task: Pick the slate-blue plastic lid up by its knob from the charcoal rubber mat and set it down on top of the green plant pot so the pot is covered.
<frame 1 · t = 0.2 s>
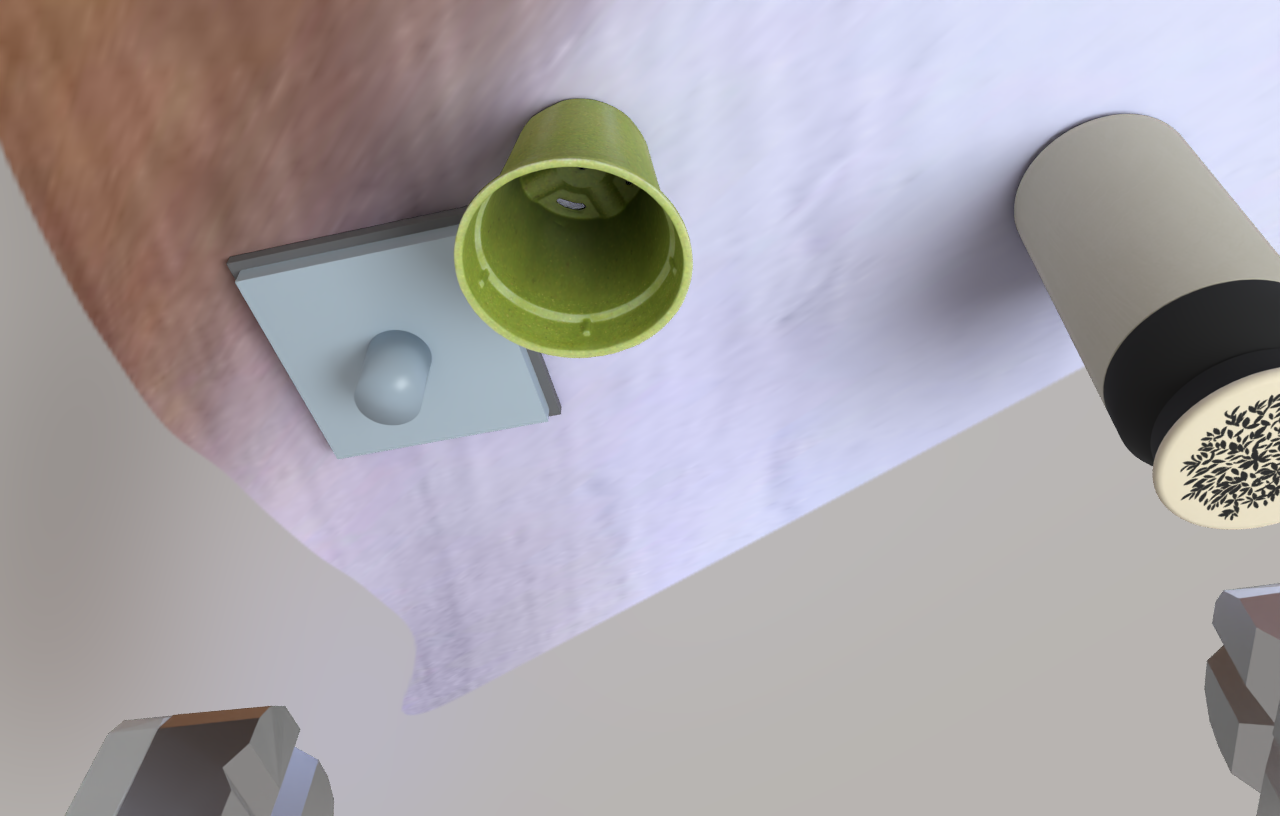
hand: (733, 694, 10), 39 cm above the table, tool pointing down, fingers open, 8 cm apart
plant pot: (582, 158, 49), on the table
lid: (403, 343, 55), point 1 cm above the table, touching mat
travel mug: (1098, 188, 50), on the table
mat: (405, 336, 56), on the table
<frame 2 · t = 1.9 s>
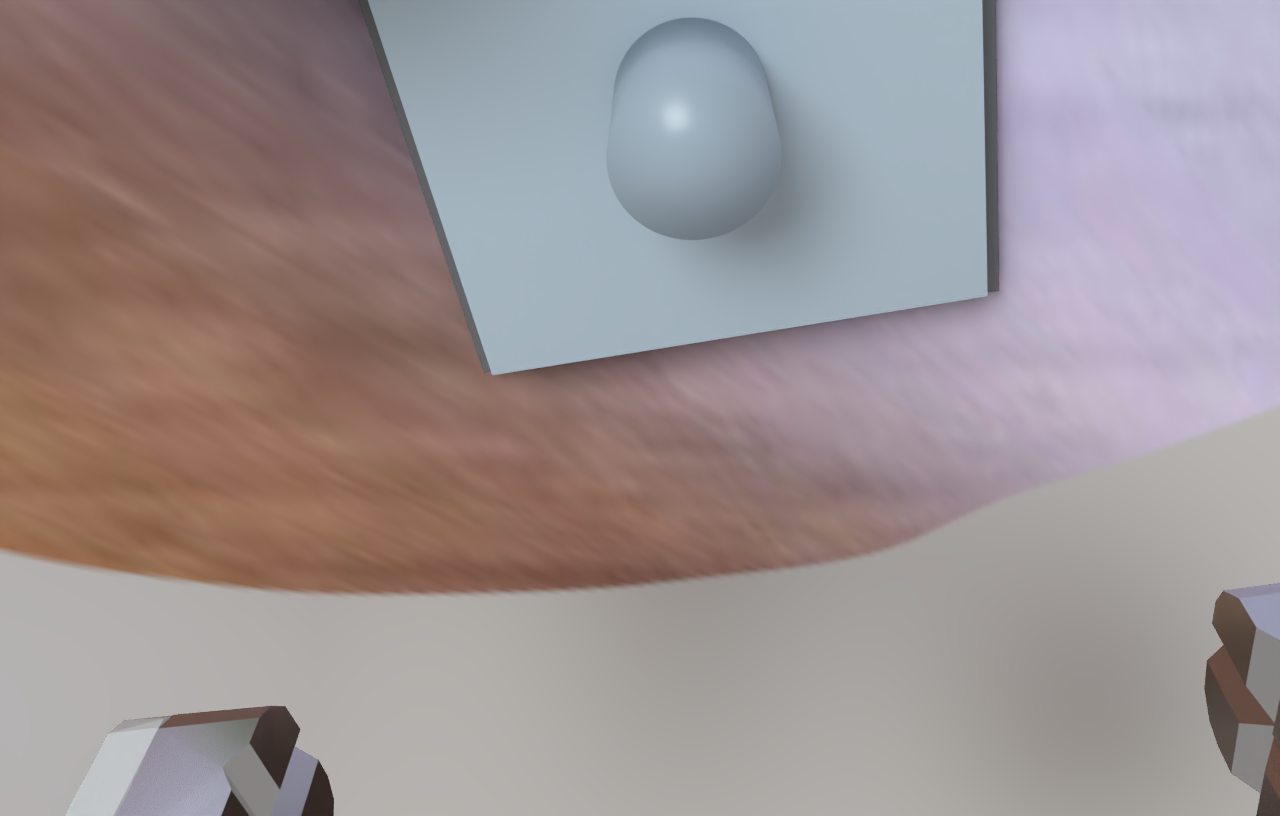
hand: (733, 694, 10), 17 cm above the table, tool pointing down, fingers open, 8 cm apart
lid: (689, 80, 23), point 1 cm above the table, touching mat
mat: (688, 71, 24), on the table
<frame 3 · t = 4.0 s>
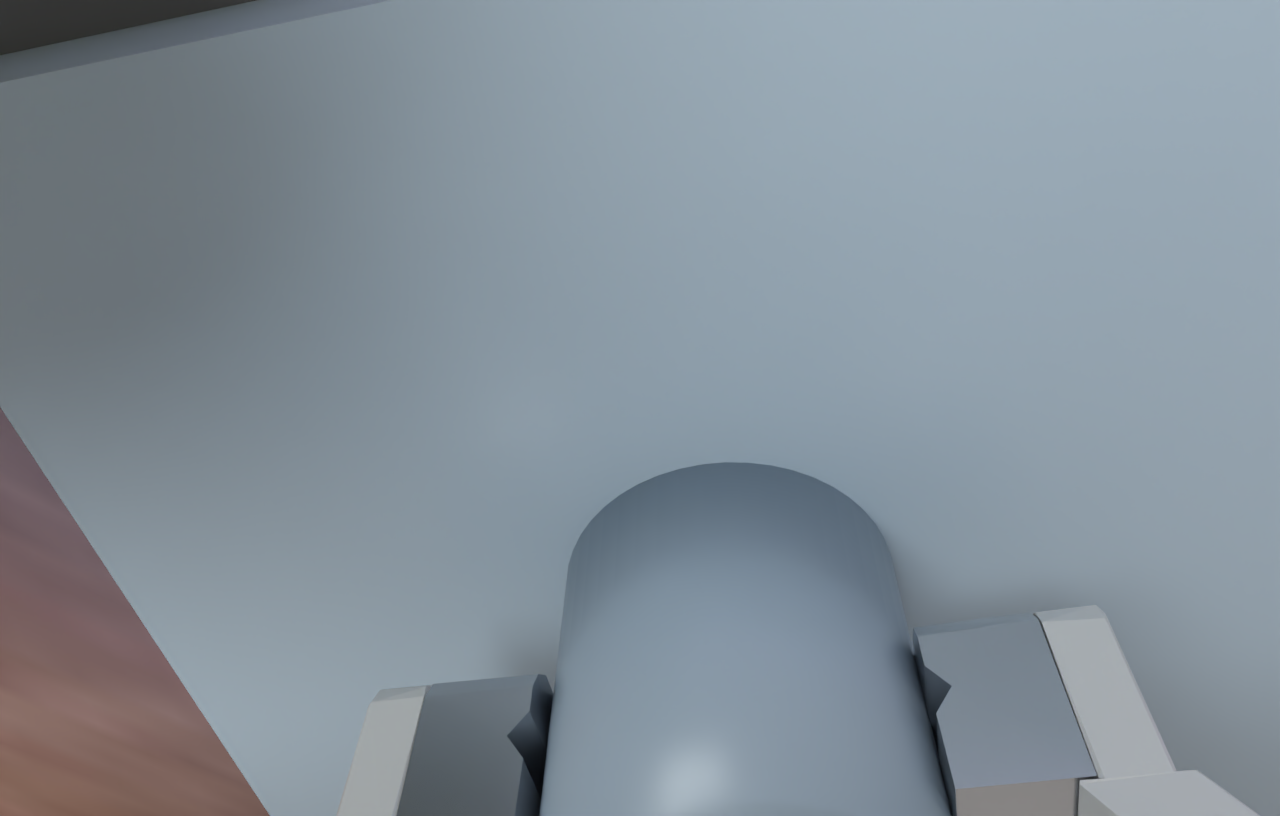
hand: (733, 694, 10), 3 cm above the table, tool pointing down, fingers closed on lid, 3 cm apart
lid: (725, 523, 11), point 1 cm above the table, touching gripper, mat
mat: (723, 486, 12), on the table
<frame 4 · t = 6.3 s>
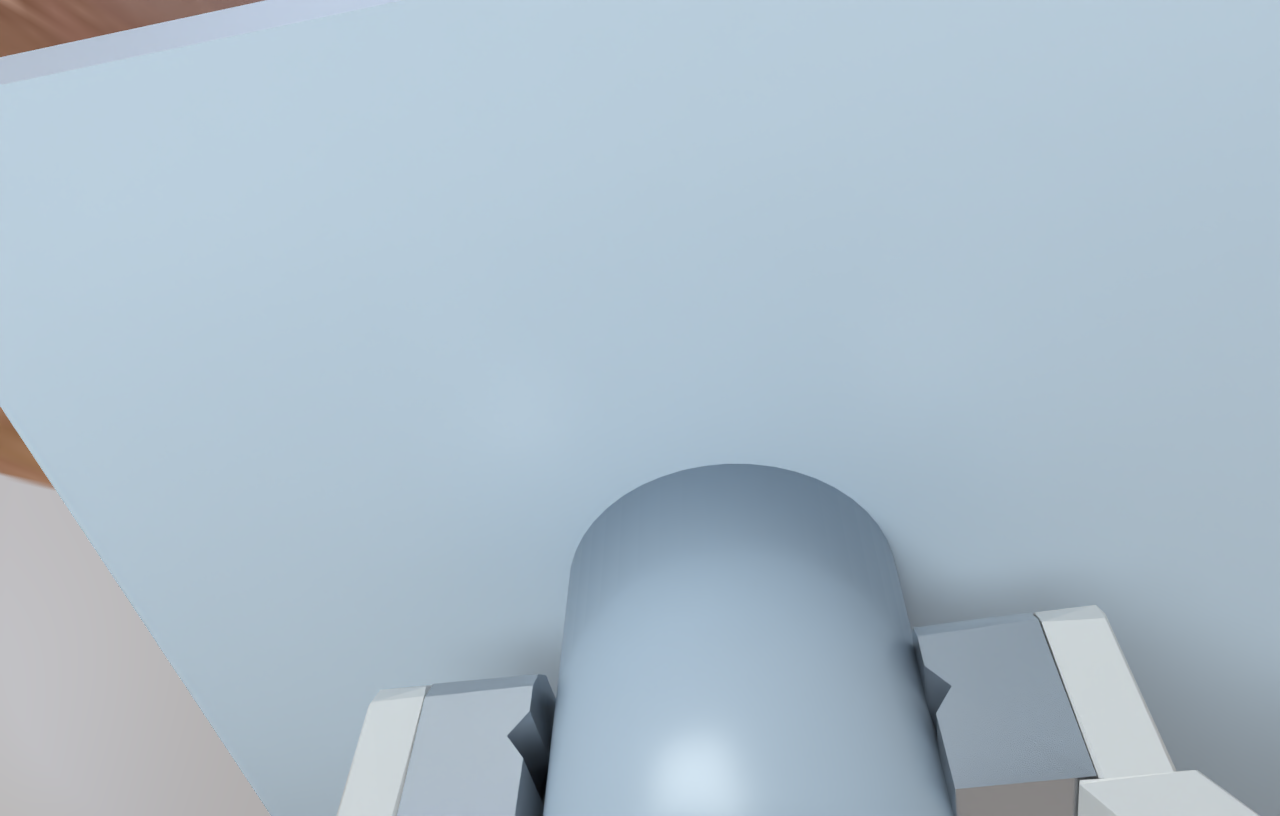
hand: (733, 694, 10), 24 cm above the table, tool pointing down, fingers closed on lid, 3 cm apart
lid: (727, 524, 11), point 22 cm above the table, touching gripper
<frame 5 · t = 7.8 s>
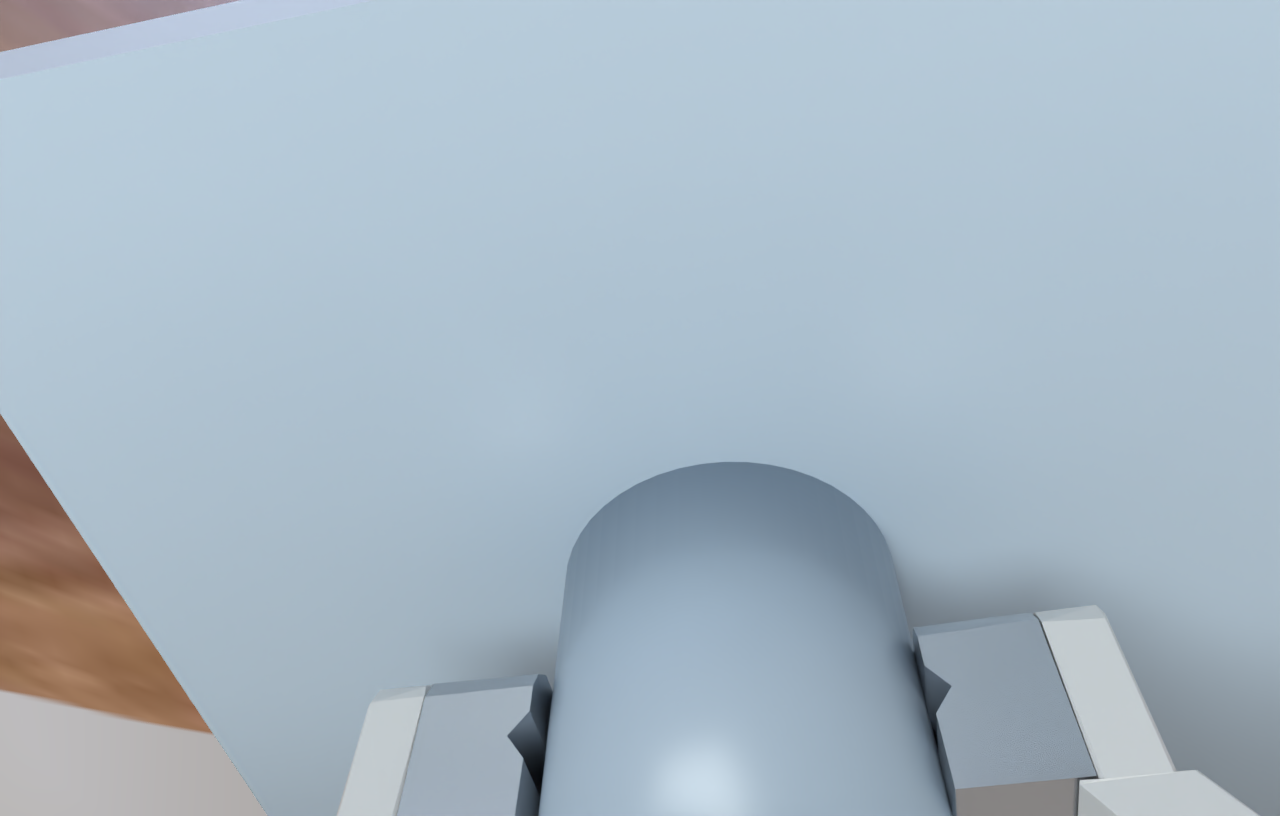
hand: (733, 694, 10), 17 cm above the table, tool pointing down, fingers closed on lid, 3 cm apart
lid: (724, 522, 11), point 15 cm above the table, touching gripper
when the fingers open (13 cm above the table, at t = 8.8 s): lid drops 2 cm, resting on plant pot.
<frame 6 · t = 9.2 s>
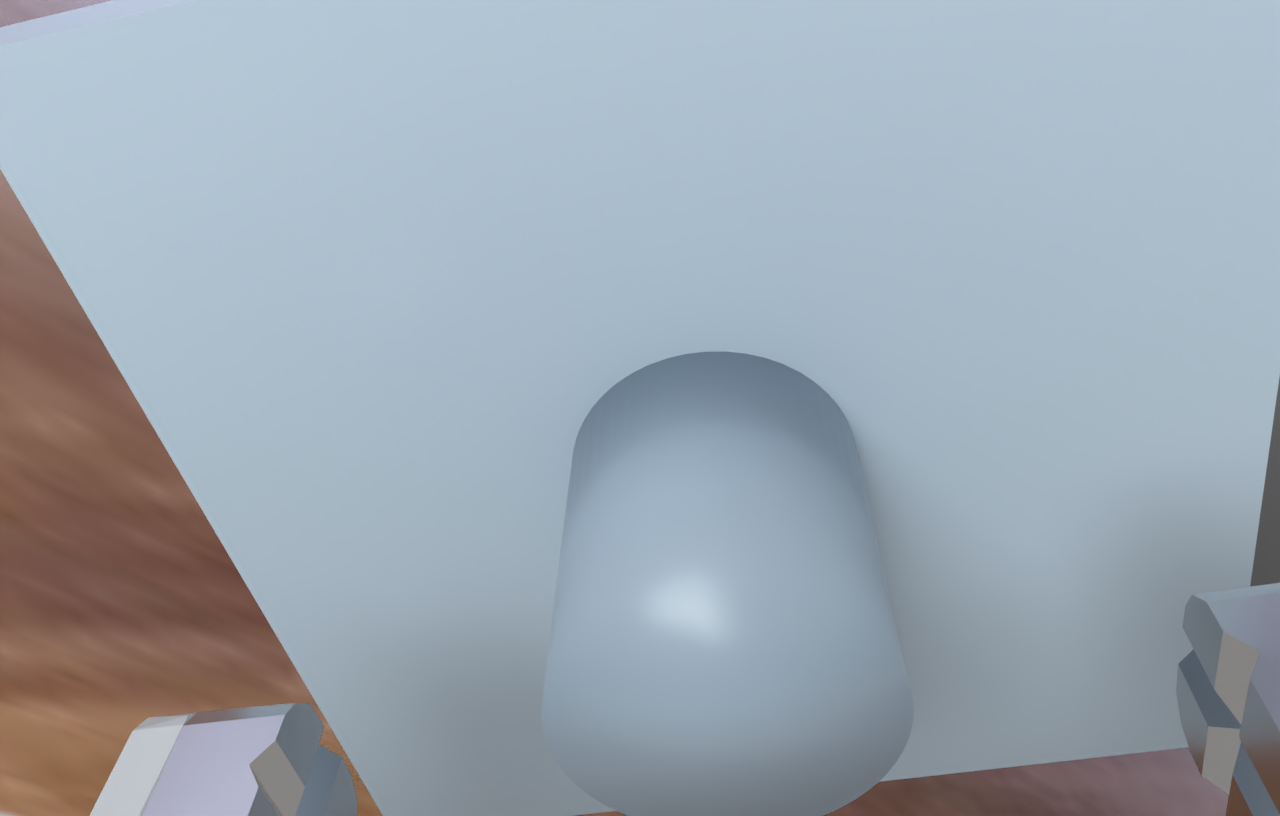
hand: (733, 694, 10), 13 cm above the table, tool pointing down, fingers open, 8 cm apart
lid: (711, 419, 13), point 9 cm above the table, touching plant pot
mat: (1101, 547, 25), on the table
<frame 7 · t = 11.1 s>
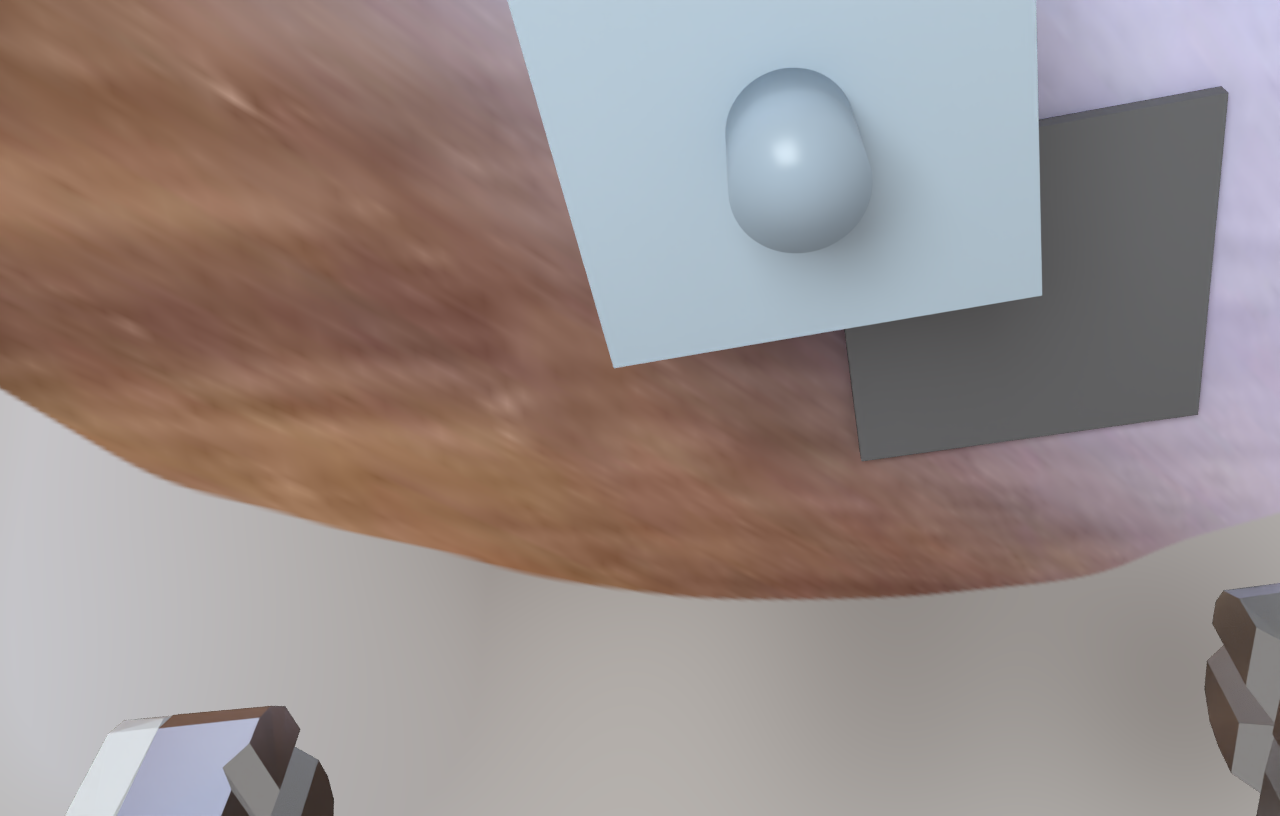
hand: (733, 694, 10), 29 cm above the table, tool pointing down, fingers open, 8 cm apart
lid: (786, 117, 28), point 9 cm above the table, touching plant pot
mat: (1019, 290, 40), on the table
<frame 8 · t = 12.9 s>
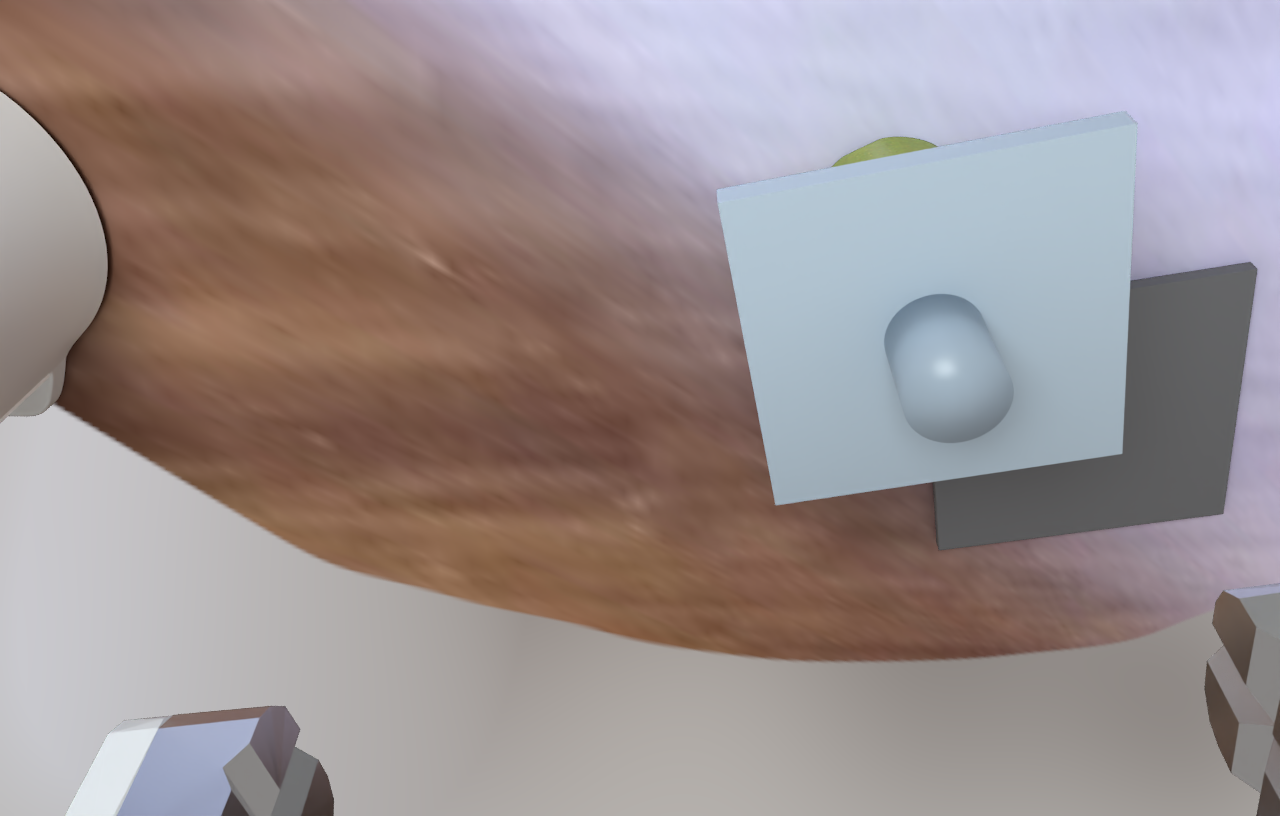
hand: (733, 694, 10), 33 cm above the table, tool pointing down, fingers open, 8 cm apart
plant pot: (889, 207, 43), on the table, touching lid
lid: (928, 321, 36), point 9 cm above the table, touching plant pot
mat: (1078, 415, 48), on the table
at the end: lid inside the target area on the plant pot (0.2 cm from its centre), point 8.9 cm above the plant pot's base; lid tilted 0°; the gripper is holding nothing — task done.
